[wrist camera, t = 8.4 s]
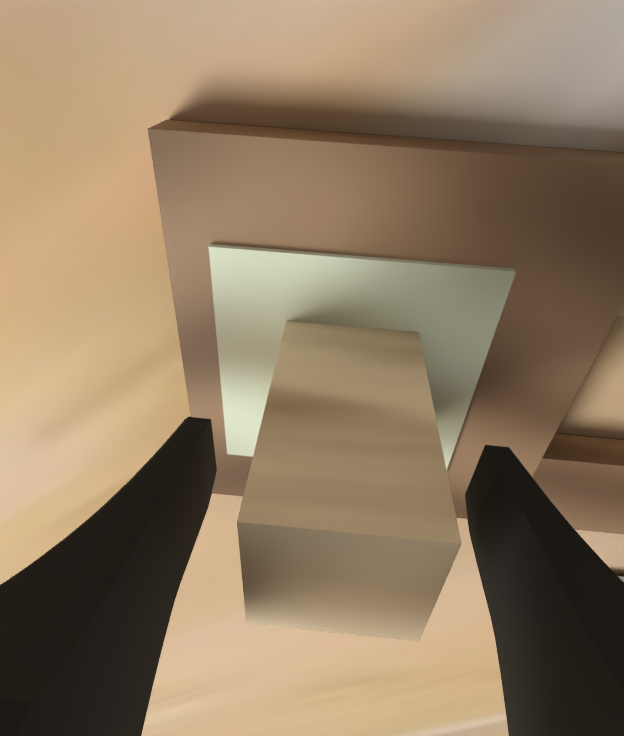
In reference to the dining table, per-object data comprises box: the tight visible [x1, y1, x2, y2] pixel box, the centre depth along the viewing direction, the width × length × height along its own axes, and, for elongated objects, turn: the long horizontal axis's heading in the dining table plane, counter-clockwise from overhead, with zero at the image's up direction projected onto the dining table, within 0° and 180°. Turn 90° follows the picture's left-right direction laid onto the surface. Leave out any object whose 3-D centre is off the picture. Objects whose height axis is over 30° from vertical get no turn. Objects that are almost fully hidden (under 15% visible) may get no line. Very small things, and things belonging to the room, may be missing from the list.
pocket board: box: [148, 120, 624, 534], centre depth 15 cm, size 14×22×2 cm, turn 87°
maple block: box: [237, 321, 461, 642], centre depth 12 cm, size 4×4×7 cm
